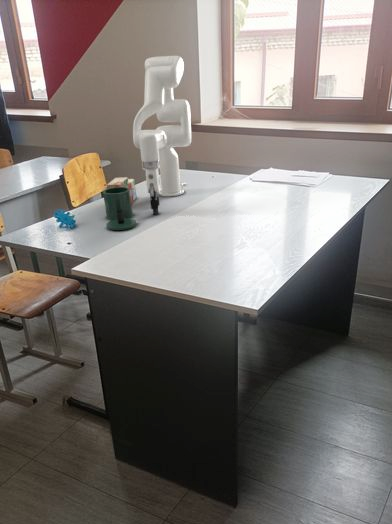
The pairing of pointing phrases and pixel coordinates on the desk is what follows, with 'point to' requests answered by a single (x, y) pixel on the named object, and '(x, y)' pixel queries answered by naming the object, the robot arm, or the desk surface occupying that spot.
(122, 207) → the green hollow cylinder
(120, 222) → the lid
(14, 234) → the desk surface
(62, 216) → the gear
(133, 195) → the stack of blocks
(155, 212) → the cylinder
